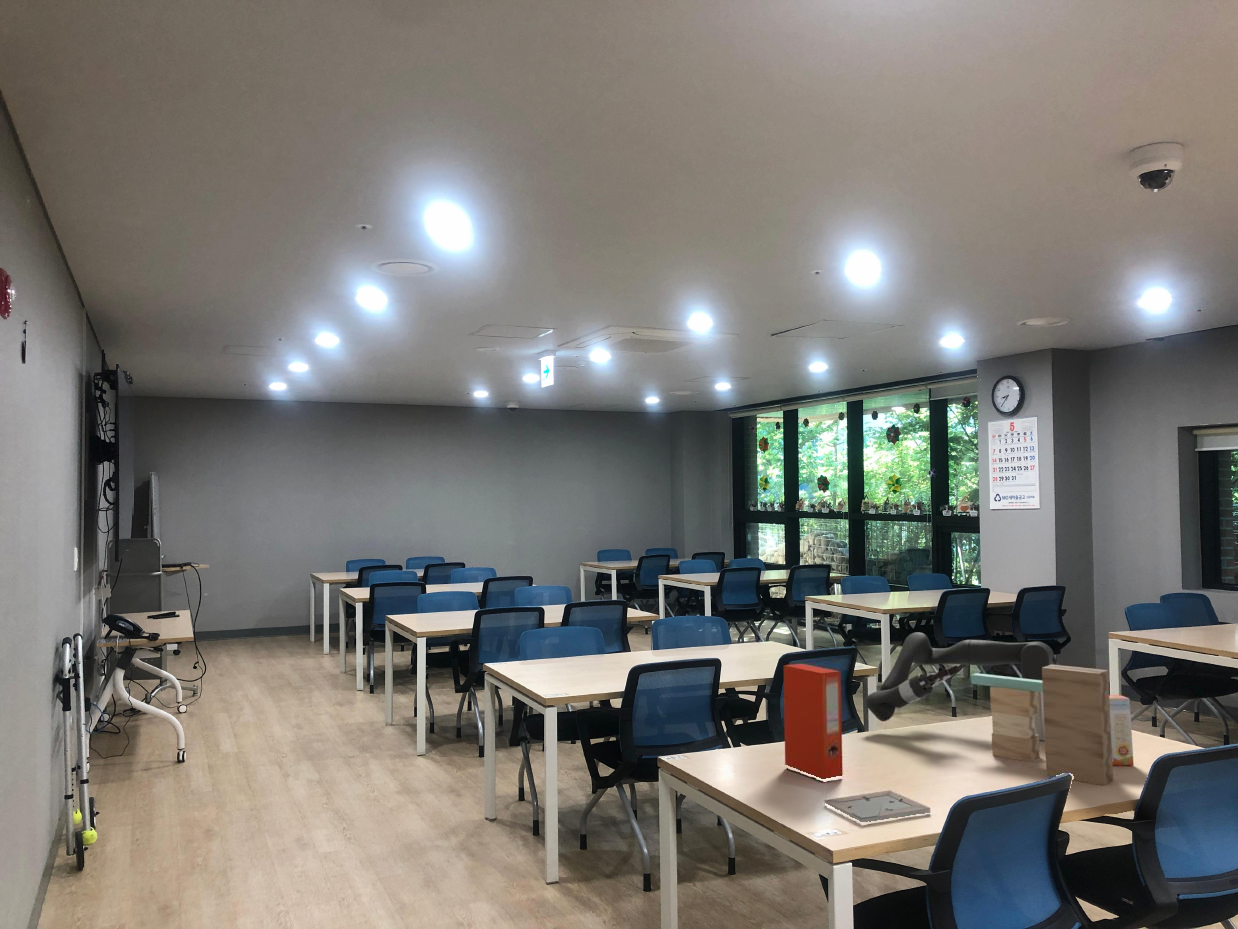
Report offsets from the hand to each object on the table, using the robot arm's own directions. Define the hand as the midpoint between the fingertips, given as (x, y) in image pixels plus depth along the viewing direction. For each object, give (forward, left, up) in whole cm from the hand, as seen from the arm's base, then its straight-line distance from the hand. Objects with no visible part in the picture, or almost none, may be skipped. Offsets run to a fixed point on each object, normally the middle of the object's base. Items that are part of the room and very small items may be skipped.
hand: (953, 669), depth 303 cm
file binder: (+62, -17, -26) cm, 69 cm away
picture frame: (+80, +14, -27) cm, 85 cm away
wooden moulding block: (+12, +43, -26) cm, 51 cm away
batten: (0, +20, -4) cm, 20 cm away
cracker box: (-10, +44, -26) cm, 52 cm away
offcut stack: (0, +20, -26) cm, 33 cm away
